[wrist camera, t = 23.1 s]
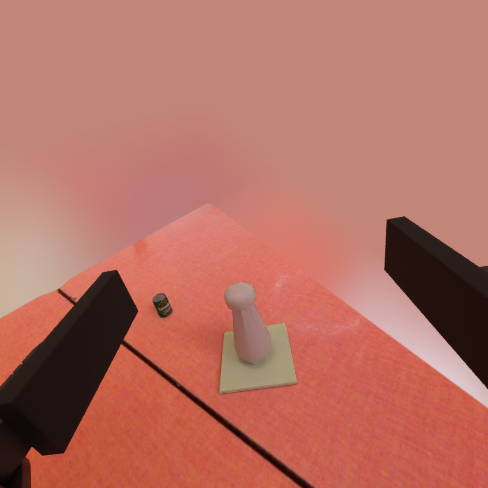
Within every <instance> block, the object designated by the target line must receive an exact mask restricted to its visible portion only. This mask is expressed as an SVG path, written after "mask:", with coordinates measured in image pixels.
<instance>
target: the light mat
mask: <svg viewBox="0 0 488 488" xmlns="http://www.w3.org/2000/svg"><path fill="white" fill-rule="evenodd" d="M266 328H267V330H268V332H269V334H270V336H271V348H270V350H269V352H268V355H267V358H266V360H264V361H262V362H260V363H258V364H256V365H254V364H251V363H248V362H245V361H244V360H243V359H241V358H240V357H239V356H238V354H237V352H236V350H235V348H234V332H233V331H229V332H224V342H223V353H222V365H221V376H220V388H219V392H220V394H224V393H232V392H239V391H247V390H255V389H262V388H270V387H278V386H286V385H293V384H297V380H296V374H295V369H294V364H293V359H292V354H291V349H290V344H289V339H288V333H287V328H286V323H281V324H275V325H268V326H266Z"/></svg>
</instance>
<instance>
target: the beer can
mask: <svg viewBox="0 0 488 488" xmlns="http://www.w3.org/2000/svg"><path fill="white" fill-rule="evenodd" d="M153 303H154V305H155V308H156V310H157V312H158V314H159V316H160V317H166V316H168V315H170V314H171V312H172V308H171V306H170V303H169V301H168V299H167V297H166V295H165V294H164V293H160V294H157V295H156V296H154V297H153Z"/></svg>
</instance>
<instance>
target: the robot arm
mask: <svg viewBox="0 0 488 488" xmlns="http://www.w3.org/2000/svg"><path fill="white" fill-rule="evenodd" d="M385 247H386V248H385V268H384V270H385V271H386V272H387V273H388V274H389V275H390V277H391V278H392V279H393V280H394V281H395V283H396V284H397V285H398V286H399V287H400V288H401V289H402V291H403V292H404V293H405V294H406V295H407V296H408V297H409V299H410V300H411V301H412V302H413V303H414V304H415V306H416V307H417V308H418V309H419V310H420V311H421V313H422V314H423V315H424V316H425V317H426V318H427V319H428V321H429V322H430V323H431V324H432V325H433V326H434V327H435V329H436V330H437V331H438V332H439V333H440V334H441V336H442V337H443V338H444V339H445V340H446V341H447V343H448V344H449V345H450V346H451V347H452V348H453V349H454V350H455V352H456V353H457V354H458V355H459V356H460V357H461V359H462V360H463V361H464V362H465V363H466V364H467V366H468V367H469V368H470V369H471V370H472V371H473V372H474V374H475V375H476V376H477V377H478V378H479V379H480V381H481V382H482V383H483V384H484V385H485V386H486V387H487V389H488V266H483V267H478V266H477V265H475V264H474V263H472V262H471V261H470V260H468V259H467V258H465V257H464V256H462V255H461V254H459V253H458V252H456V251H455V250H453V249H452V248H450V247H449V246H447V245H446V244H444V243H443V242H441V241H440V240H439V239H437V238H435V237H434V236H433V235H431V234H430V233H428V232H427V231H425V230H424V229H422V228H421V227H419V226H418V225H416V224H415V223H413V222H412V221H410V220H409V219H407V218H406V217H399V218H393V219H388V220H387V226H386V246H385ZM137 313H138V309H137V307H136V305H135V303H134V302H133V300H132V298H131V296H130V294H129V292H128V290H127V288H126V286H125V284H124V282H123V281H122V279H121V277H120V275H119V273H118V271H117V270H113V271H108V272H103V273H102V274H101V275H100V276H99V277H98V278H97V280H96V281H95V282H94V283H93V284H92V285H91V287H90V288H89V289H88V290H87V291H86V292H85V294H84V295H83V296H82V297H81V298H80V299H79V300H78V302H77V303H76V304H75V305H74V306H73V307H72V309H71V310H70V311H69V312H68V313H67V314H66V316H65V317H64V318H63V319H62V320H61V321H60V322H59V324H58V325H57V326H56V327H55V328H54V329H53V331H52V332H51V333H50V334H49V335H48V336H47V338H46V339H45V340H44V341H43V342H42V343H40V344H39V345H38V346H37V347H35V348H34V349H33V350H32V351H31V352H30V353H29V355H28V356H27V357H26V358H25V359H24V360H23V361H22V364H20V365H19V366H18V367H17V368H16V369H15V371H14V372H13V374H12V375H10V376H9V377H8V379H7V380H6V381H5V382H4V383H3V384H2V385H1V386H0V488H31V465H30V462H29V460H28V459H27V458H26V457H25V456H26V455H27V453H28V451H29V450H30V448H31V447H33V448H34V449H36V450H37V451H38V452H39V453H40V454H41V455H42V456H44V455H53V454H62V453H64V452H65V450H66V448H67V446H68V444H69V443H70V441H71V439H72V437H73V435H74V433H75V431H76V429H77V427H78V425H79V423H80V422H81V420H82V418H83V416H84V414H85V412H86V410H87V408H88V406H89V404H90V402H91V401H92V399H93V397H94V395H95V393H96V391H97V389H98V387H99V385H100V383H101V381H102V380H103V378H104V376H105V374H106V372H107V370H108V368H109V366H110V364H111V362H112V360H113V359H114V357H115V355H116V353H117V351H118V349H119V347H120V345H121V343H122V341H123V339H124V338H125V336H126V334H127V332H128V330H129V328H130V326H131V324H132V322H133V320H134V318H135V316H136V315H137Z"/></svg>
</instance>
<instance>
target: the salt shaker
mask: <svg viewBox="0 0 488 488" xmlns="http://www.w3.org/2000/svg"><path fill="white" fill-rule="evenodd" d="M224 298H225V302H226V304H227V306H228V307H229V309H231V310H232V312H233V332H234V348H235V350H236V352H237V354H238V356H239V357H240V358H241V359H243V360H244V361H245V362H248V363H251V364H254V365H256V364H258V363H260V362H262V361H264V360H266V358H267V355H268V352H269V350H270V348H271V336H270V334H269V332H268V330H267V328H266V326H265V324H264V322H263V320H262V318H261V316H260V314H259V312H258V310H257V308H256V306H255V300H256V292H255V289H254V287H253V286H252V285H251V284H249V283H246V282H237V283H234V284H232V285H230V286H229V287H228V288H227V290H226V291H225V294H224Z"/></svg>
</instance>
